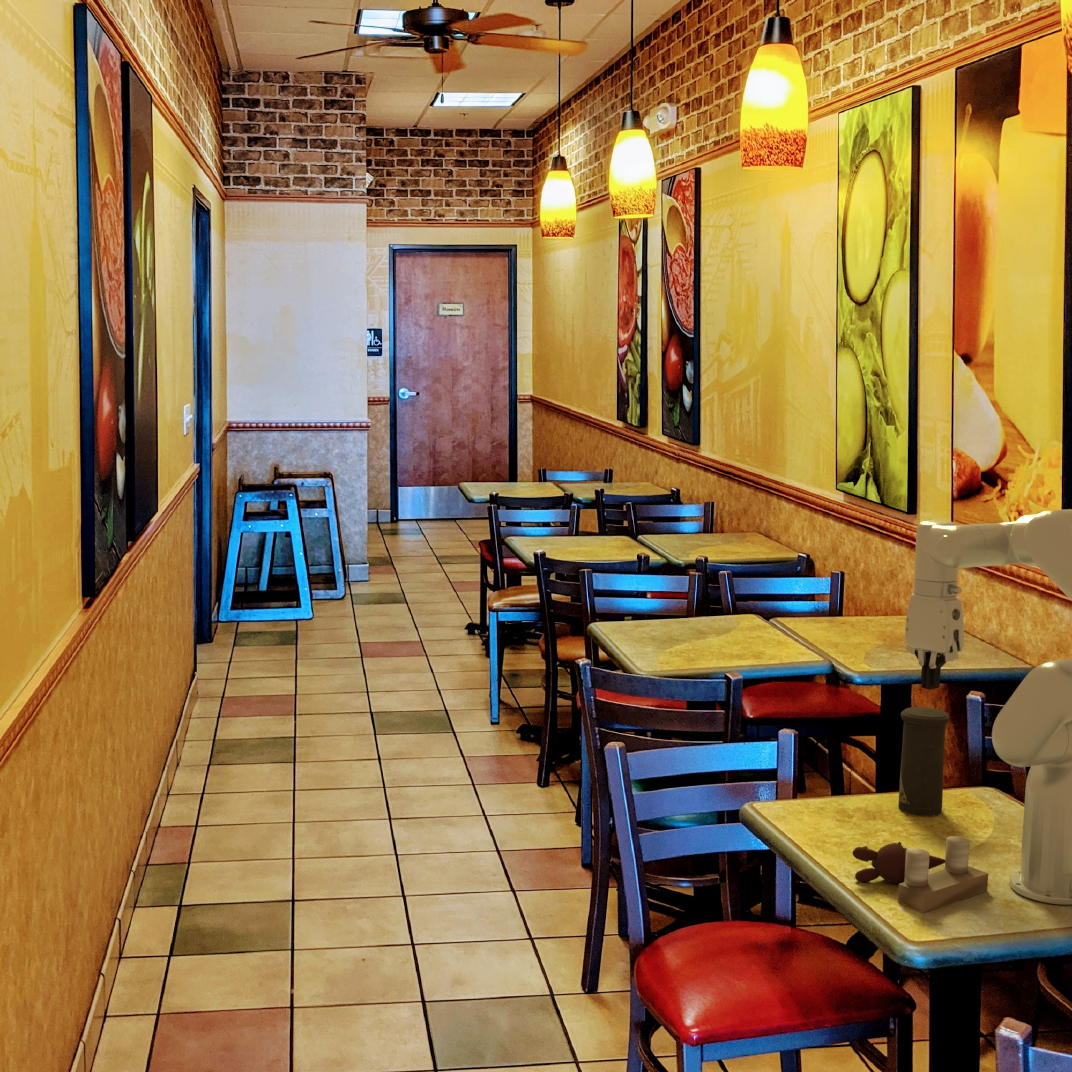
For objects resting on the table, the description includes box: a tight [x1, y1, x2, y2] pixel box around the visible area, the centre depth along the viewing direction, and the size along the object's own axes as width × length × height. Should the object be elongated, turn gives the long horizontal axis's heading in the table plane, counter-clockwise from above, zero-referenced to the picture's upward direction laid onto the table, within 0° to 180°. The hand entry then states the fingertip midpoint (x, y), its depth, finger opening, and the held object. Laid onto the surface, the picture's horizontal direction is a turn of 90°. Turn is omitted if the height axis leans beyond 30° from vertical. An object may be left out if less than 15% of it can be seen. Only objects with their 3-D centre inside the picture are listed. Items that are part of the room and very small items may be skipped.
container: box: [897, 706, 950, 817], centre depth 252 cm, size 9×9×20 cm
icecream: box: [852, 841, 945, 884], centre depth 216 cm, size 7×7×15 cm
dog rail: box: [897, 835, 989, 914], centre depth 211 cm, size 6×16×8 cm, turn 124°
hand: (930, 687), depth 238 cm, fingers closed
